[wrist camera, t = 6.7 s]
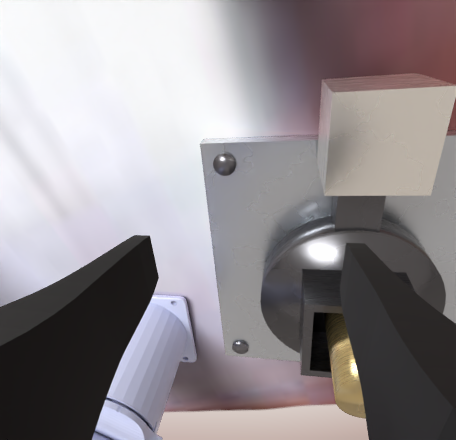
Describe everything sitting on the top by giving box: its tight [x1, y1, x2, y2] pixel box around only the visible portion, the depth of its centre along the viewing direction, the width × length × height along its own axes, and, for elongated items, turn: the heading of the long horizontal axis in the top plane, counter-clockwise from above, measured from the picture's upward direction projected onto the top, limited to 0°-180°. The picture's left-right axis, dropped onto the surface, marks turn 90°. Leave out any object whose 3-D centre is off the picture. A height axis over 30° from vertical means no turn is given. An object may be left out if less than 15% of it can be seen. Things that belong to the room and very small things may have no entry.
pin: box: [324, 313, 366, 418], centre depth 18 cm, size 3×3×6 cm
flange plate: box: [200, 130, 456, 361], centre depth 23 cm, size 20×19×1 cm
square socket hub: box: [260, 73, 456, 378], centre depth 18 cm, size 11×19×5 cm, turn 4°
